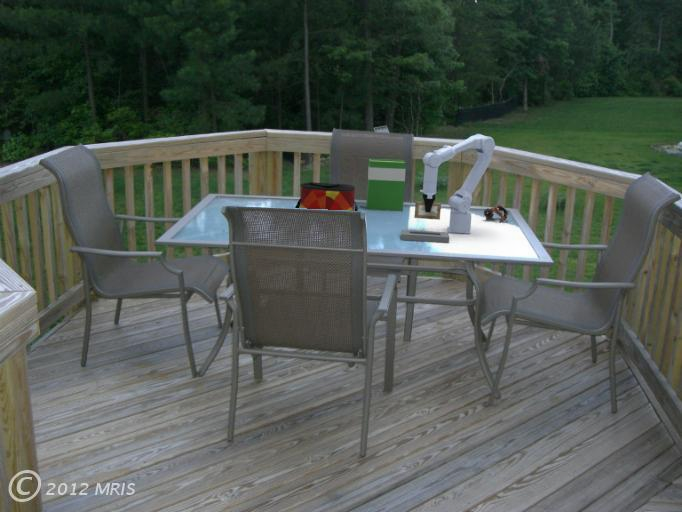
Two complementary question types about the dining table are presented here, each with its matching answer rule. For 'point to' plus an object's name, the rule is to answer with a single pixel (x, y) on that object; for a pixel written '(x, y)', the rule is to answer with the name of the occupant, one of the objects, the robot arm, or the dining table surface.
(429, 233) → the panel with rectangular hole
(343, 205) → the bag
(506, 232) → the dining table surface
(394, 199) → the hardback book
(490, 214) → the dark brown curved piece
